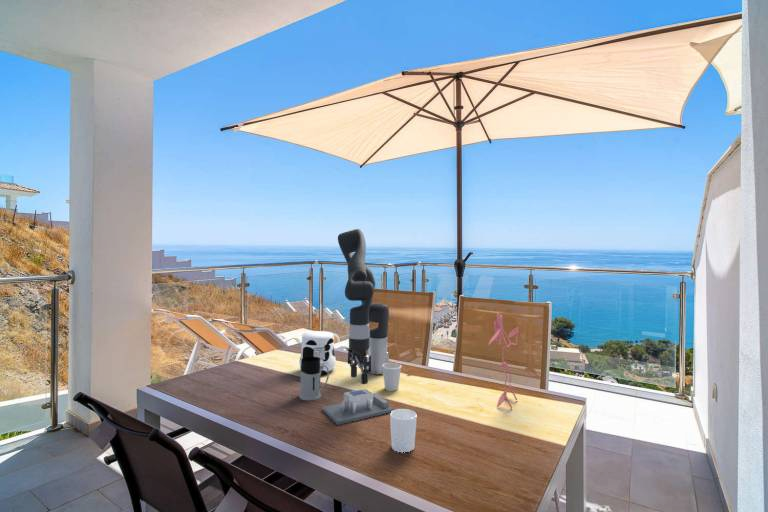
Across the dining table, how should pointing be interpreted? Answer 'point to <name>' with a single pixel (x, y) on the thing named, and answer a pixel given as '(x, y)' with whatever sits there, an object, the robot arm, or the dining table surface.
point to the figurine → (498, 337)
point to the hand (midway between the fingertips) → (359, 380)
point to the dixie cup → (391, 375)
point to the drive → (357, 400)
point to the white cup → (403, 429)
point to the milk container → (319, 348)
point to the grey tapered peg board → (343, 416)
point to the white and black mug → (311, 378)
